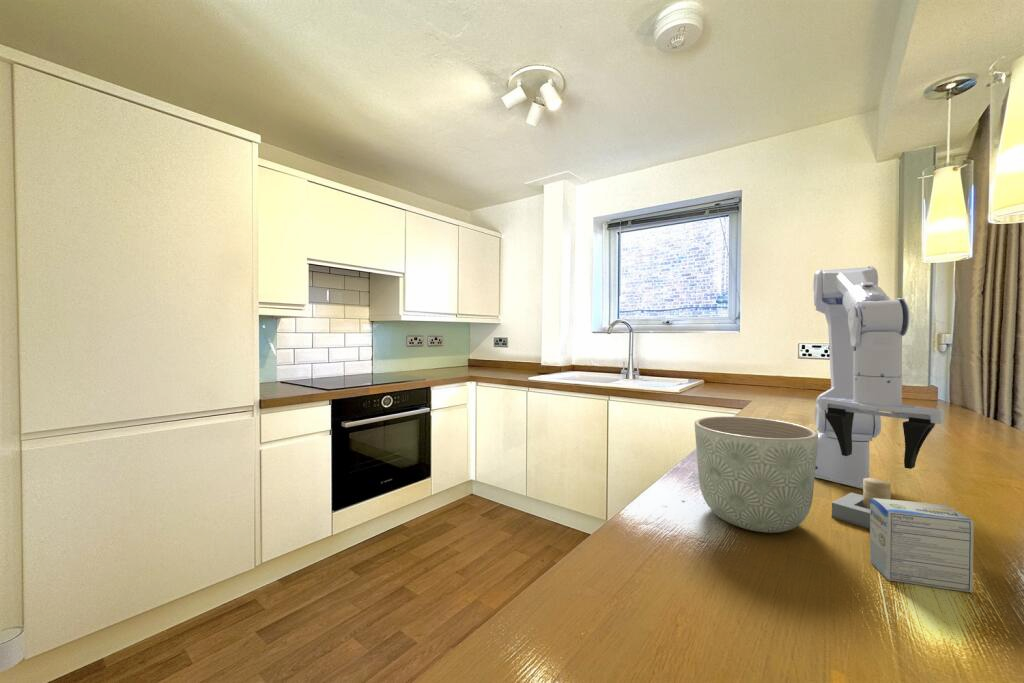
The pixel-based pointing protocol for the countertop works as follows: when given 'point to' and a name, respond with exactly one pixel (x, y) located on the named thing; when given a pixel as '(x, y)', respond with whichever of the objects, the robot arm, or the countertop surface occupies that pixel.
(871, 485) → the maple pin
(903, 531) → the medicine box
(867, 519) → the hole block
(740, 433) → the planter
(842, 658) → the countertop surface
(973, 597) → the countertop surface
